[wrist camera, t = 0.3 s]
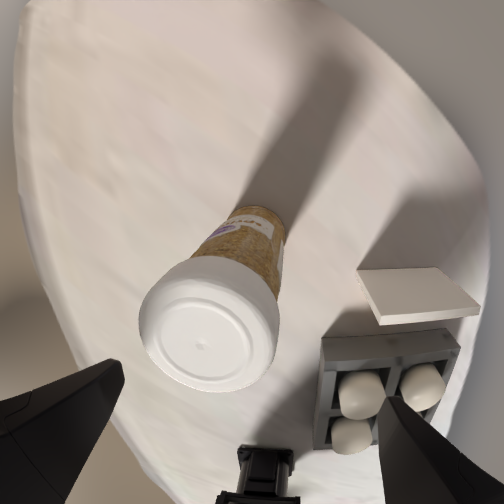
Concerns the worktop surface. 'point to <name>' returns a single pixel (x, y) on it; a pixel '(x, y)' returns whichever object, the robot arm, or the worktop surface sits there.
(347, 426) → the button
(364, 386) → the button
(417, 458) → the robot arm
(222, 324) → the sprinkles bottle
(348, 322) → the worktop surface
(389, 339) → the button board
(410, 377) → the button
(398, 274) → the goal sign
